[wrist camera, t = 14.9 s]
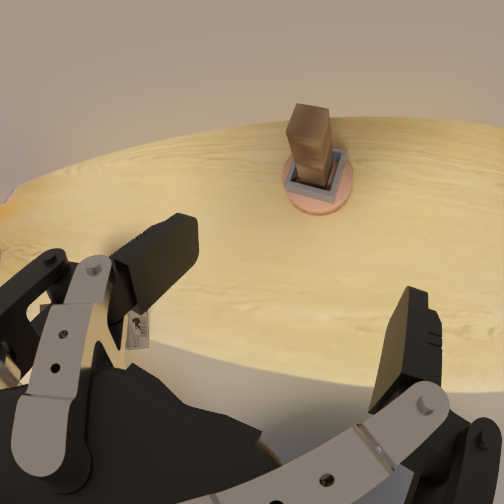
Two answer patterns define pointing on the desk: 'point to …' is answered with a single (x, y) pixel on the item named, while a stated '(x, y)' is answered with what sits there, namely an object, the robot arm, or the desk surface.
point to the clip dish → (318, 199)
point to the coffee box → (132, 330)
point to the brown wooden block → (311, 144)
